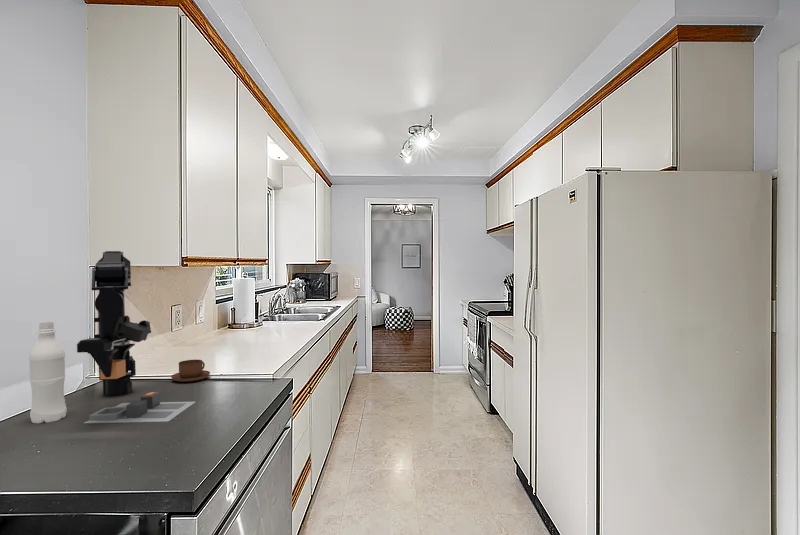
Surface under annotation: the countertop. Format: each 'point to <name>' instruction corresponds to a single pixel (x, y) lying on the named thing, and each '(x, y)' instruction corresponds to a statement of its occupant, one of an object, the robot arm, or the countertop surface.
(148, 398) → the block
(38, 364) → the water bottle
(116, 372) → the cap
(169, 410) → the panel
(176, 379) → the cup and saucer
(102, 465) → the countertop surface
